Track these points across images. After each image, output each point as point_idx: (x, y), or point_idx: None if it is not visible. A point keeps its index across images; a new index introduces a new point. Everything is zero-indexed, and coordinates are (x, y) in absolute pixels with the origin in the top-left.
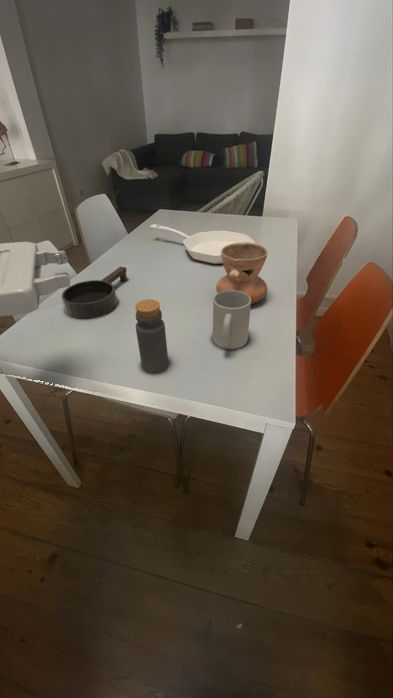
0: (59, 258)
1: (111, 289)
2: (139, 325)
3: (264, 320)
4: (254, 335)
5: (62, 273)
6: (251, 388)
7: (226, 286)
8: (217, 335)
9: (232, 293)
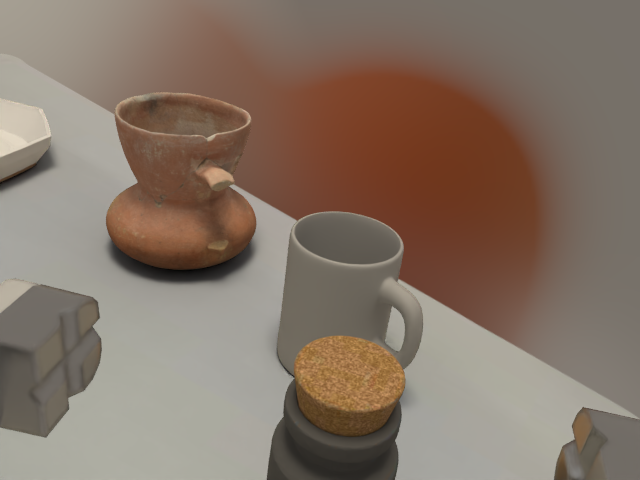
0: (60, 362)
1: None
2: (337, 476)
3: None
4: None
5: (625, 434)
6: (542, 429)
7: (175, 226)
8: None
9: (306, 226)
